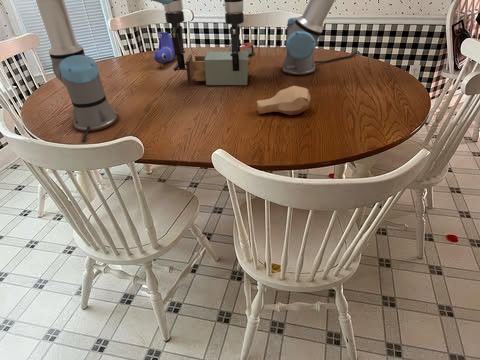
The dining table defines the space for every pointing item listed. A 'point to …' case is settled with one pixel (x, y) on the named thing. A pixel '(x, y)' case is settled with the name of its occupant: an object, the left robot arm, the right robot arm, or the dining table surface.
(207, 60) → the pale green box
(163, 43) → the toy
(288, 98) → the squash
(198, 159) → the dining table surface
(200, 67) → the drawer
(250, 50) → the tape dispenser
